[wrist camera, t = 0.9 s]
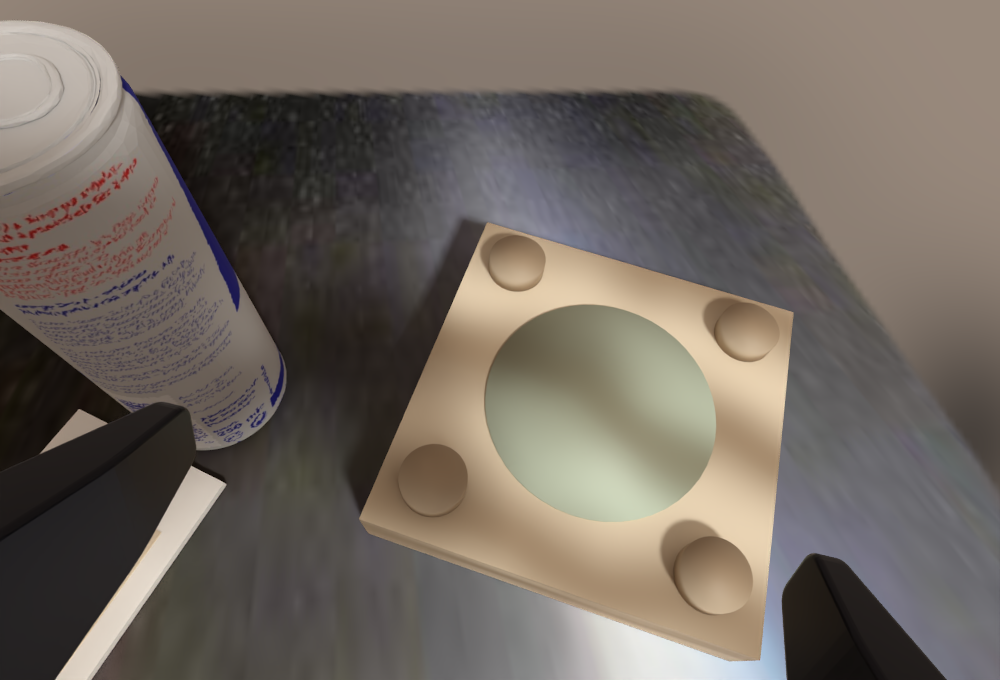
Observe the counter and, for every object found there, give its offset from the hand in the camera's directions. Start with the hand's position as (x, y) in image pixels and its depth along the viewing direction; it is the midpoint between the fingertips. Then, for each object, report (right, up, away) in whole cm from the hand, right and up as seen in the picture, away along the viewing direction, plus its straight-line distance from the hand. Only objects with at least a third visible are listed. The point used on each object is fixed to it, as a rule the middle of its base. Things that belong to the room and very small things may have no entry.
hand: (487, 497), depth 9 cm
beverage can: (-12, 0, +17) cm, 21 cm away
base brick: (+4, -1, +17) cm, 18 cm away
